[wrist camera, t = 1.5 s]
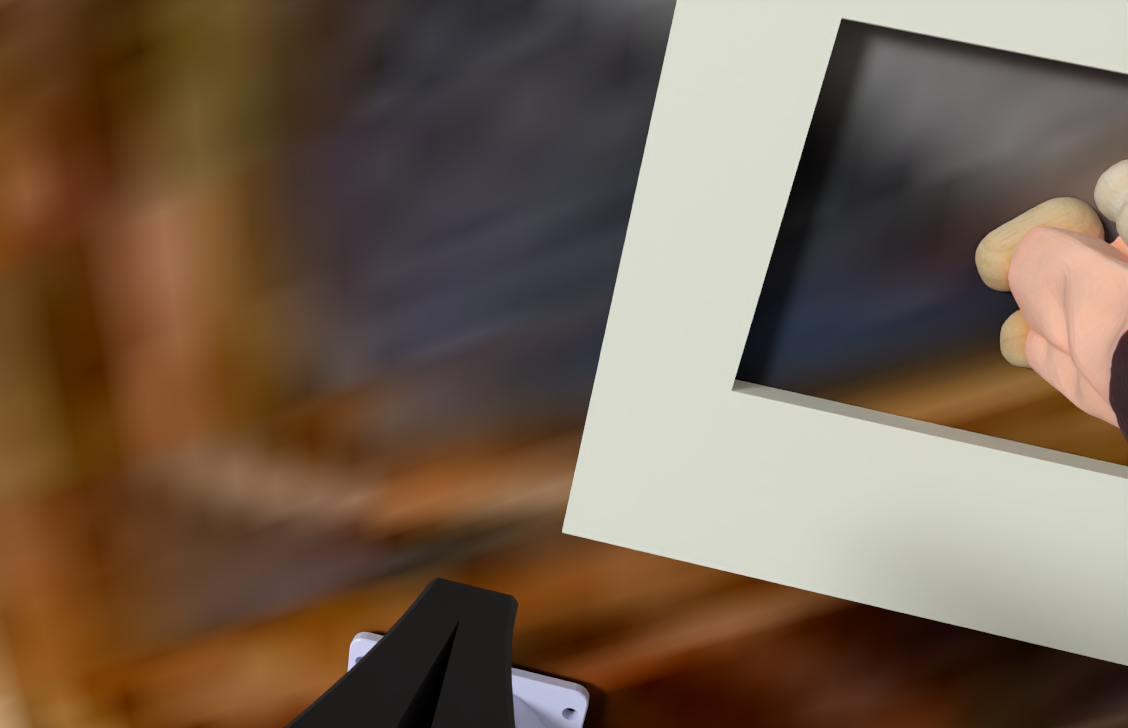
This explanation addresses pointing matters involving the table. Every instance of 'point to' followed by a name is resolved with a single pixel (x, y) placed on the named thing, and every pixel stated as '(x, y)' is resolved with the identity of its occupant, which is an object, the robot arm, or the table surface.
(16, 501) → the table surface
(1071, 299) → the grandmother figurine
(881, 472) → the pale rectangular frame
